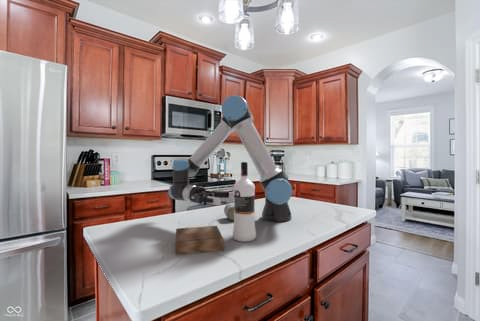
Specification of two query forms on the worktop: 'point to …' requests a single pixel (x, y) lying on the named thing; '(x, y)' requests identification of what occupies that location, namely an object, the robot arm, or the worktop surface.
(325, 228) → the worktop surface
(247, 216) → the vodka
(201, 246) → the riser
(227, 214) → the ceramic mug
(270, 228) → the worktop surface
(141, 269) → the worktop surface
